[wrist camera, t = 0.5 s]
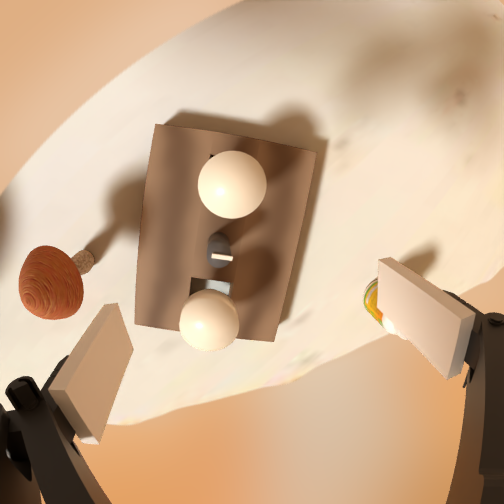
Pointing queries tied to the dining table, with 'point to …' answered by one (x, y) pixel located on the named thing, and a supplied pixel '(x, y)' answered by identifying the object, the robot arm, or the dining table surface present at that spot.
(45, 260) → the mushroom
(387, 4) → the dining table surface
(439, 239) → the dining table surface
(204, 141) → the console
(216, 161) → the knob
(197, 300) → the knob
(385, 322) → the supplement bottle
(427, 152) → the dining table surface
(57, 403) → the robot arm
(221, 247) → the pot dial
